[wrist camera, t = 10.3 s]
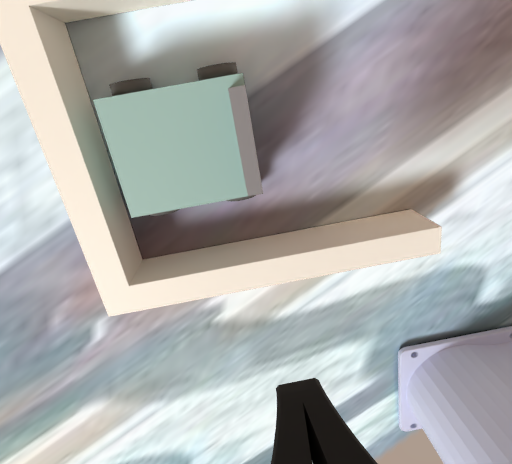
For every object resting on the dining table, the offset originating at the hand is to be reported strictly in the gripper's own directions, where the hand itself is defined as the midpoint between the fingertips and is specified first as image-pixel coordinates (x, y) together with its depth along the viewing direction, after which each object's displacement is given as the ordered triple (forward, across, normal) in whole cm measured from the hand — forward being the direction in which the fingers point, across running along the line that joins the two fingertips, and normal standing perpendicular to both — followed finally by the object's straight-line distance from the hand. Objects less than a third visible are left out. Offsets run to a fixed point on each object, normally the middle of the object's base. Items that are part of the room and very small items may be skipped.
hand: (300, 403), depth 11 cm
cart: (+10, +3, -8) cm, 13 cm away
